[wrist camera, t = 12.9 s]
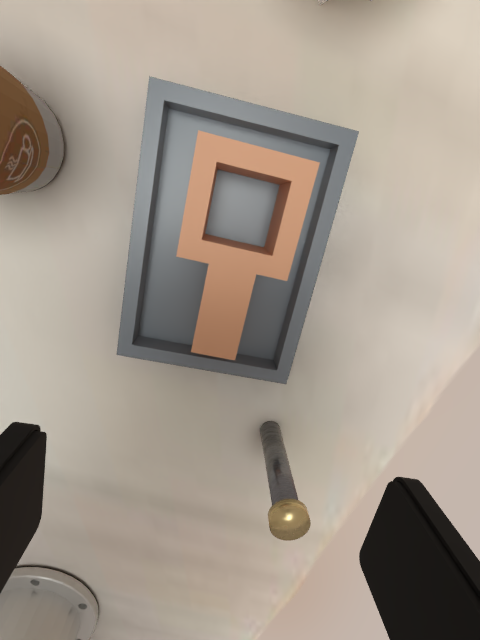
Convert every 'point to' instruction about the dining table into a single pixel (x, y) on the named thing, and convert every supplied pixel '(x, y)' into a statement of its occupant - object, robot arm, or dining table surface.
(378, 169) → the dining table surface
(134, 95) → the dining table surface
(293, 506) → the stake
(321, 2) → the cup
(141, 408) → the dining table surface
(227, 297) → the orange flat handled frame
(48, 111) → the coffee cup
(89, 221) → the dining table surface
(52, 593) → the robot arm
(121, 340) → the tray
